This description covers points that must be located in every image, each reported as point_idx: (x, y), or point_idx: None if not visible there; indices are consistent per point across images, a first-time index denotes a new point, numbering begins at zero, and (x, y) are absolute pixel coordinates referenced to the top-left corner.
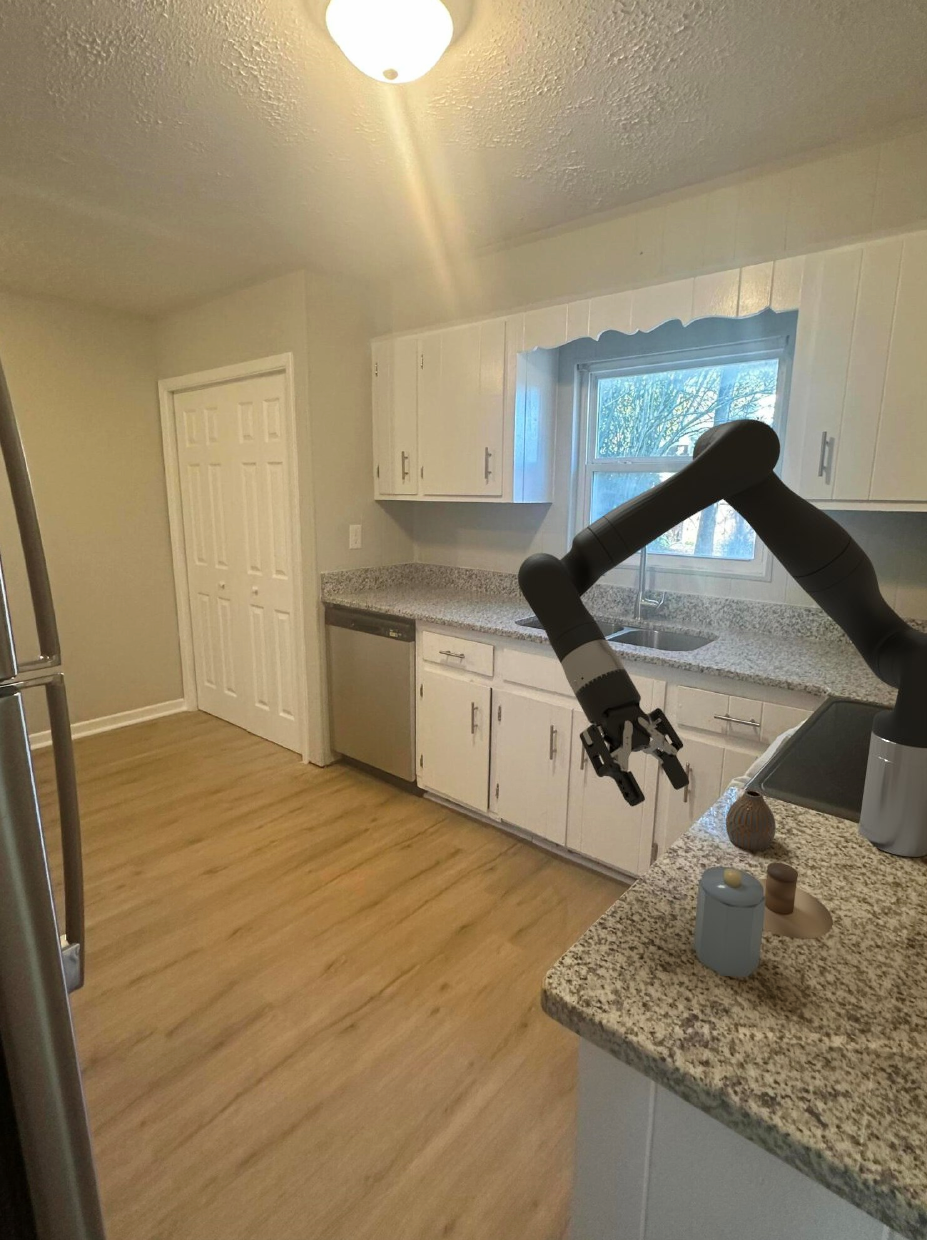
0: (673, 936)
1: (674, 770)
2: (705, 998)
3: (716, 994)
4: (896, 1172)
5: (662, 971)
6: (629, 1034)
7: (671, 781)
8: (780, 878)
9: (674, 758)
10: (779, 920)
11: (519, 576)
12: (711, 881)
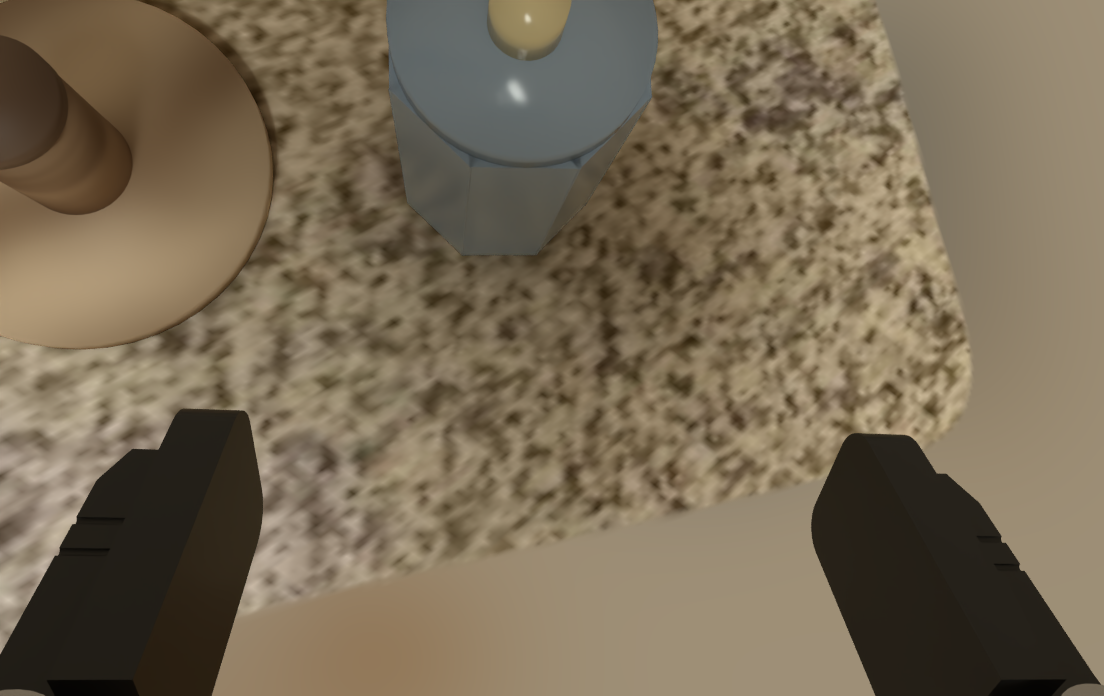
0: (526, 335)
1: (200, 579)
2: (674, 132)
3: None
4: None
5: (686, 265)
6: (927, 192)
7: (243, 579)
8: (59, 82)
9: (95, 658)
10: (167, 125)
11: None
12: (593, 91)
